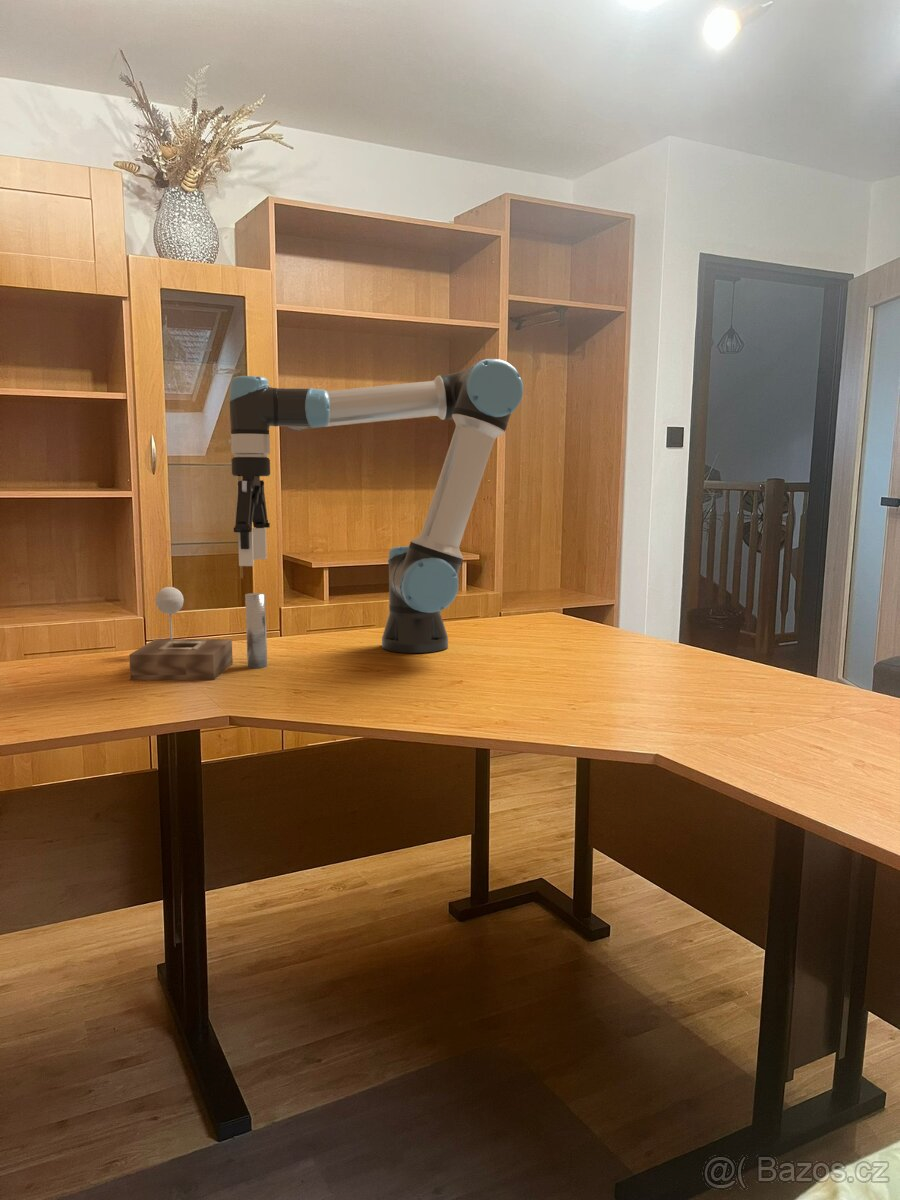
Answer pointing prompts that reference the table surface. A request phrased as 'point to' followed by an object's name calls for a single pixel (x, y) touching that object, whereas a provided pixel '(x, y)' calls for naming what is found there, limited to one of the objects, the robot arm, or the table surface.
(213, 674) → the bore block
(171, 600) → the lollipop
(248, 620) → the pin
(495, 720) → the table surface
